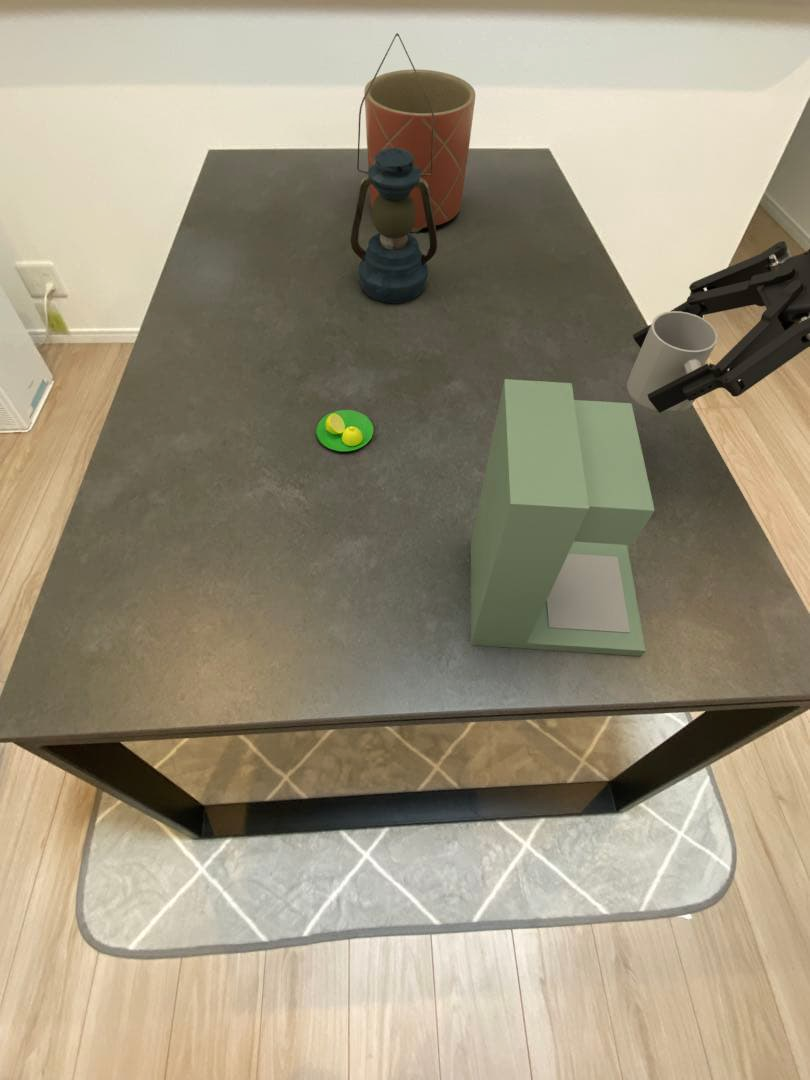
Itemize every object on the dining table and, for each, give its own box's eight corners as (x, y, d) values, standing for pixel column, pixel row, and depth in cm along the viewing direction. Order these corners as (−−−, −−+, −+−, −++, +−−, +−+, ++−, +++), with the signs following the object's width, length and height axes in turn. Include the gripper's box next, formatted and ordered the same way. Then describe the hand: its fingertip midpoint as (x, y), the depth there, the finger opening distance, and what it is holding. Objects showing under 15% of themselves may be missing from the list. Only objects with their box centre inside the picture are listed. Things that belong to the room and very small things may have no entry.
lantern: (349, 303, 101) (333, 47, 72) (356, 263, 108) (345, 14, 79) (432, 308, 101) (451, 53, 72) (435, 268, 108) (452, 20, 79)
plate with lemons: (310, 449, 83) (308, 435, 80) (324, 409, 87) (322, 394, 85) (367, 458, 82) (366, 443, 80) (378, 417, 87) (378, 402, 84)
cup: (671, 370, 76) (701, 309, 69) (704, 426, 71) (740, 366, 63) (617, 375, 76) (641, 313, 68) (646, 432, 70) (676, 371, 63)
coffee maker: (623, 551, 75) (718, 391, 53) (641, 656, 67) (762, 519, 45) (470, 541, 75) (504, 378, 53) (470, 645, 67) (510, 503, 46)
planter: (412, 246, 112) (416, 125, 95) (347, 205, 119) (341, 86, 103) (483, 213, 119) (498, 94, 102) (418, 176, 127) (423, 60, 110)
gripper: (930, 350, 53) (678, 461, 66) (841, 218, 65) (644, 333, 79) (913, 292, 48) (647, 423, 62) (821, 163, 61) (616, 294, 74)
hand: (645, 372), depth 70 cm, fingers closed on cup, 10 cm apart
